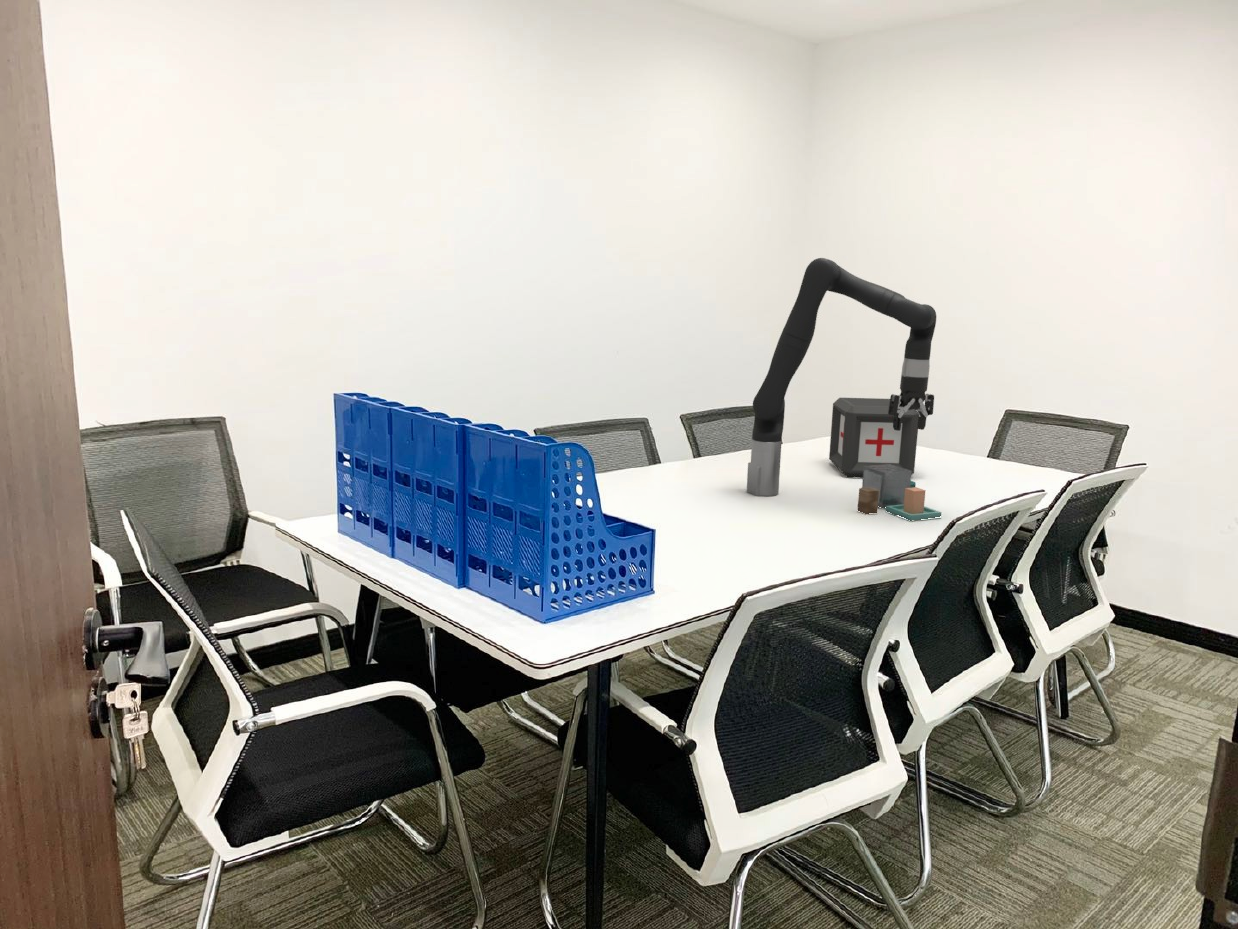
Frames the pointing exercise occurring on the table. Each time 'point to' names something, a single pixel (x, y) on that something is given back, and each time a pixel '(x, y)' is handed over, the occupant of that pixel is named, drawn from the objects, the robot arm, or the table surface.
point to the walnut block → (868, 500)
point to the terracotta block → (914, 500)
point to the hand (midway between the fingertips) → (908, 429)
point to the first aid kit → (870, 436)
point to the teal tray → (925, 515)
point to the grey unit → (887, 483)
